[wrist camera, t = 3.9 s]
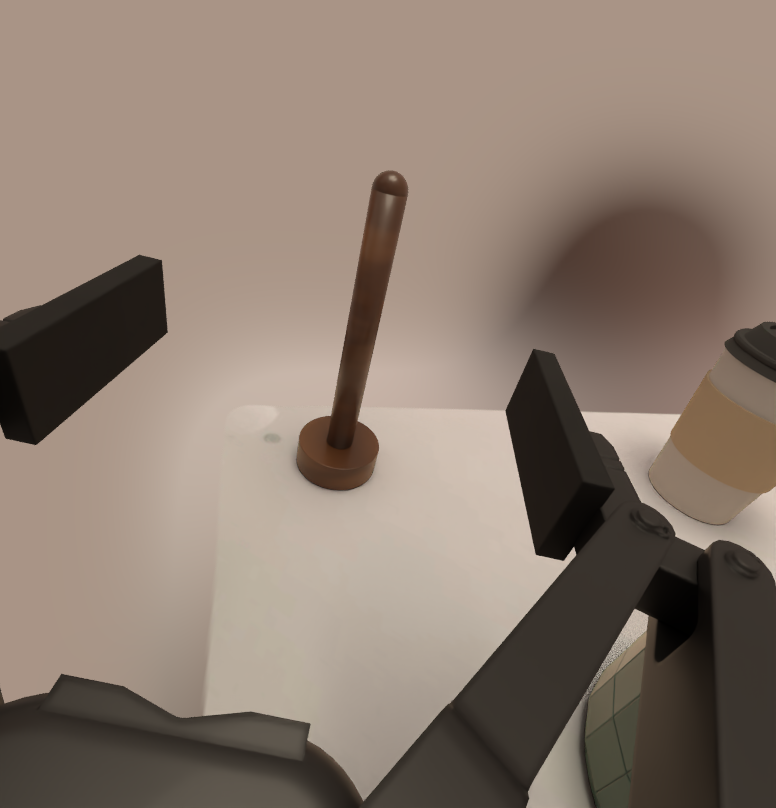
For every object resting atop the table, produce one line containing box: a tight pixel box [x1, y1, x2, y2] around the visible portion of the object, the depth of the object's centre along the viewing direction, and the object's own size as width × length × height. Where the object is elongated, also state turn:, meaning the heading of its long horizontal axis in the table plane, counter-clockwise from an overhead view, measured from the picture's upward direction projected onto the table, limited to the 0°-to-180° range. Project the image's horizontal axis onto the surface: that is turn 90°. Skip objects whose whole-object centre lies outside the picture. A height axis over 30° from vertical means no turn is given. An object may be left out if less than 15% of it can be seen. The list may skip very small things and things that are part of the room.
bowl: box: [584, 631, 647, 808], centre depth 18 cm, size 12×12×6 cm
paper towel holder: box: [297, 171, 408, 490], centre depth 27 cm, size 6×6×19 cm
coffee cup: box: [649, 322, 776, 525], centre depth 34 cm, size 9×9×15 cm
